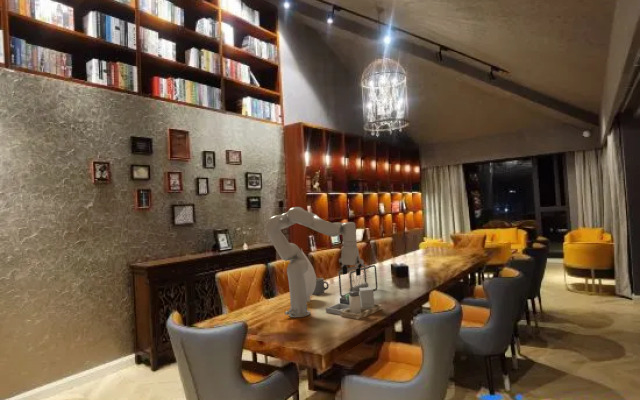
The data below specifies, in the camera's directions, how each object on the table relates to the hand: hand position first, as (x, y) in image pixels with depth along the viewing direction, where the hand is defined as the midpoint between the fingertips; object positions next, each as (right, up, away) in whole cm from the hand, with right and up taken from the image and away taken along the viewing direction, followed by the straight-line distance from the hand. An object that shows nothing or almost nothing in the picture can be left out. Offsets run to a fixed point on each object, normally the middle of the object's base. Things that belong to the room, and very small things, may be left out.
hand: (351, 274), depth 227 cm
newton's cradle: (+9, -23, +51) cm, 57 cm away
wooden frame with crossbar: (+6, -22, +3) cm, 23 cm away
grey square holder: (0, -23, +20) cm, 30 cm away
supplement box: (+10, -22, +7) cm, 25 cm away
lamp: (-27, -25, +42) cm, 56 cm away
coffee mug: (-18, -25, +60) cm, 68 cm away
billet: (+2, -22, -1) cm, 23 cm away
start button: (0, -22, +20) cm, 30 cm away
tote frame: (-6, -23, +9) cm, 26 cm away
